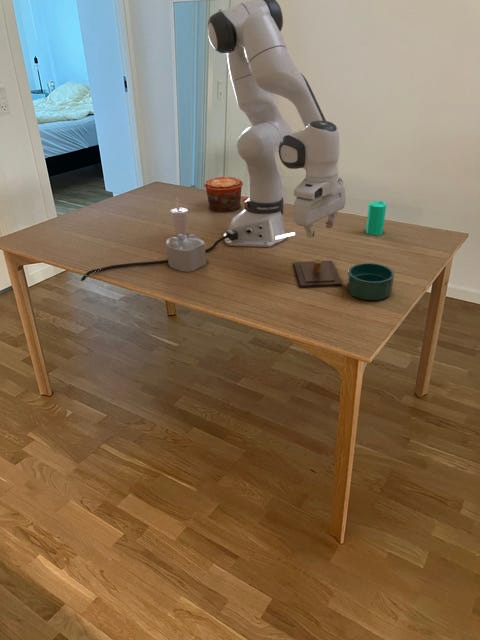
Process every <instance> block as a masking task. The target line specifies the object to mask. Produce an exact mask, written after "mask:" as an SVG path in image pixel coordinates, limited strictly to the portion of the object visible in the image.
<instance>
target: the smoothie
mask: <svg viewBox="0 0 480 640" xmlns="http://www.w3.org/2000/svg"><path fill="white" fill-rule="evenodd" d="M175 202H176V207H173V208H172V209H170V210H169V213H170V216H171V219H172V223H173V227H174V232H175V235H176V236H177V235H179V234H182V235H184V236H187V233H188V232H187V231H188V213H189V210H188V208H187V207H179V199H178V198H175Z"/></svg>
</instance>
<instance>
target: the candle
mask: <svg viewBox="0 0 480 640" xmlns="http://www.w3.org/2000/svg"><path fill="white" fill-rule="evenodd" d="M386 209H387V202H384V201H380V200H376V201H373V202H369V203H368V210H367V218H366V229H365V233H366V234H367V235H370V236H381V235H383V234H384V227H385V218H386Z"/></svg>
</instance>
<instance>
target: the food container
mask: <svg viewBox="0 0 480 640" xmlns="http://www.w3.org/2000/svg"><path fill="white" fill-rule="evenodd" d="M243 186H244V182H243V181H242V180H241V179H240V178H237V177H234V176H227V177H224V176H219V177H214V178H210V179H207V180H206V182H205V183H204V185H203V187H204V188H205V192H206V196H207V202H208V206H209V209H210V210H211V211H213V212H218V213H228V212H229V213H230V212H233V211H236V210H238V209H239V208H240V207H241V198H242V189H243V188H242V187H243Z"/></svg>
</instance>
